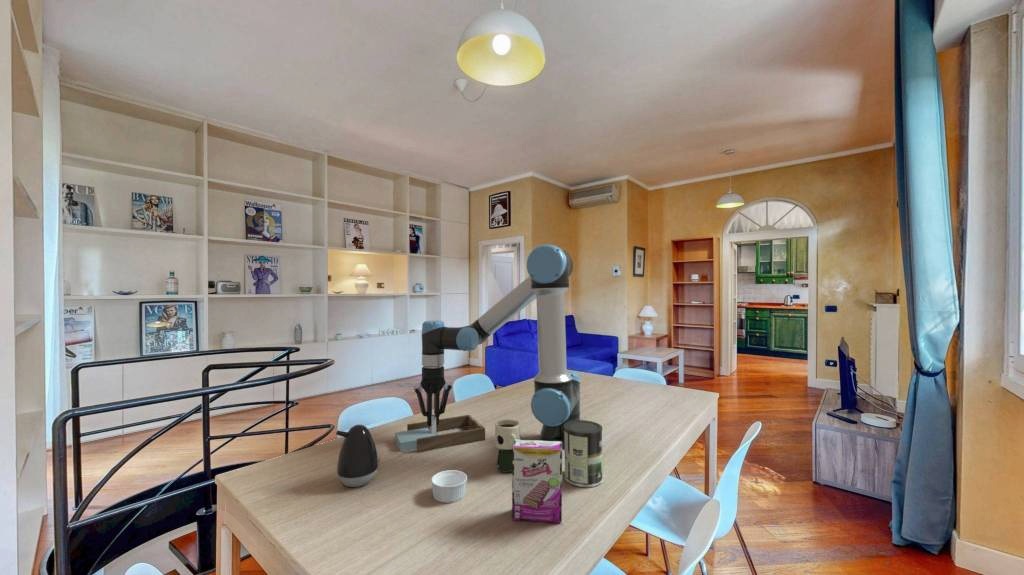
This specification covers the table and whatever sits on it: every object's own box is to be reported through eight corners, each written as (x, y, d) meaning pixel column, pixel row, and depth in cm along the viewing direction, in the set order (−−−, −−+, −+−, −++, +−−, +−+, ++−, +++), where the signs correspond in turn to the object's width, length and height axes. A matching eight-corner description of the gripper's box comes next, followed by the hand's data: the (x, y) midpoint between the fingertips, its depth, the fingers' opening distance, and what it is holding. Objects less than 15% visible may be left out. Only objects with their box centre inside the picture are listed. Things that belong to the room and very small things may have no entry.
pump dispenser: (336, 477, 106) (336, 421, 106) (376, 470, 110) (376, 416, 110) (335, 495, 97) (335, 434, 97) (379, 487, 101) (379, 428, 101)
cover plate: (434, 446, 128) (434, 437, 128) (400, 452, 123) (400, 443, 123) (427, 436, 137) (427, 427, 137) (395, 441, 132) (395, 432, 133)
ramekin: (435, 486, 102) (435, 469, 102) (469, 486, 101) (469, 469, 101) (427, 504, 93) (427, 486, 93) (464, 505, 93) (464, 487, 93)
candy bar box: (511, 521, 86) (511, 447, 86) (513, 509, 91) (513, 438, 91) (562, 524, 85) (562, 448, 85) (562, 511, 90) (561, 440, 90)
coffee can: (598, 469, 111) (598, 419, 111) (606, 487, 100) (606, 432, 100) (561, 469, 111) (561, 419, 111) (566, 487, 100) (566, 432, 100)
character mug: (489, 463, 115) (489, 419, 115) (512, 459, 117) (512, 416, 117) (502, 480, 105) (502, 431, 105) (526, 475, 107) (526, 428, 107)
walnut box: (485, 439, 133) (485, 428, 133) (417, 452, 123) (417, 439, 123) (469, 425, 147) (469, 414, 147) (407, 435, 137) (407, 424, 137)
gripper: (448, 362, 139) (448, 428, 139) (411, 365, 134) (411, 434, 134) (454, 366, 133) (454, 435, 133) (416, 369, 127) (416, 442, 127)
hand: (433, 435), depth 133 cm, fingers closed
